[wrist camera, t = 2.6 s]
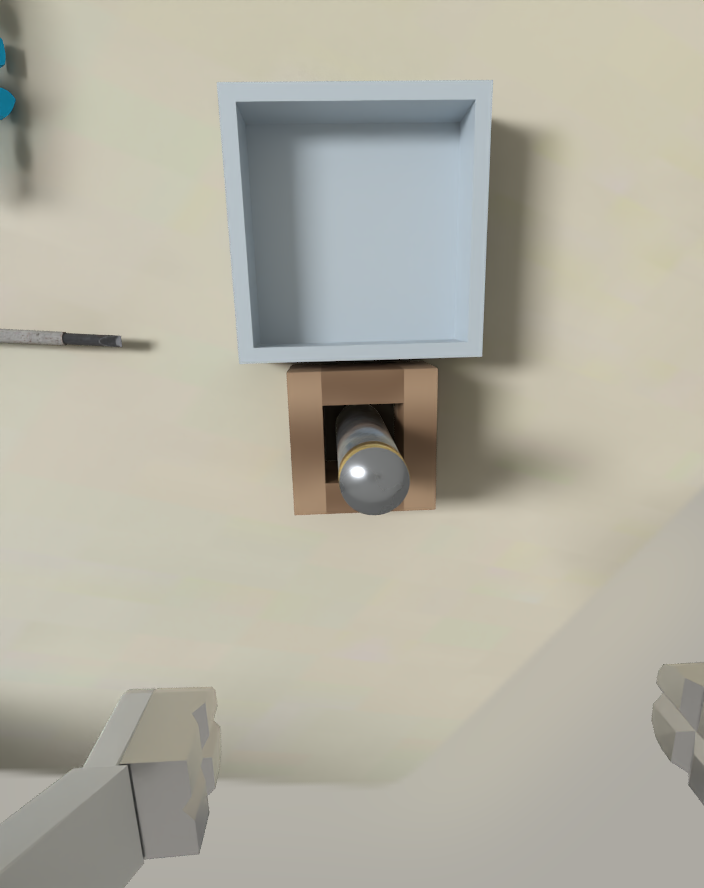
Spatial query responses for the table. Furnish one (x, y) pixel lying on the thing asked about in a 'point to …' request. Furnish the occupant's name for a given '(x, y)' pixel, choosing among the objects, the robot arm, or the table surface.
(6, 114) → the gear
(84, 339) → the screwdriver
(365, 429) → the pin
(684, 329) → the table surface
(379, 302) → the tray
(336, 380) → the block
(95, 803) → the robot arm
